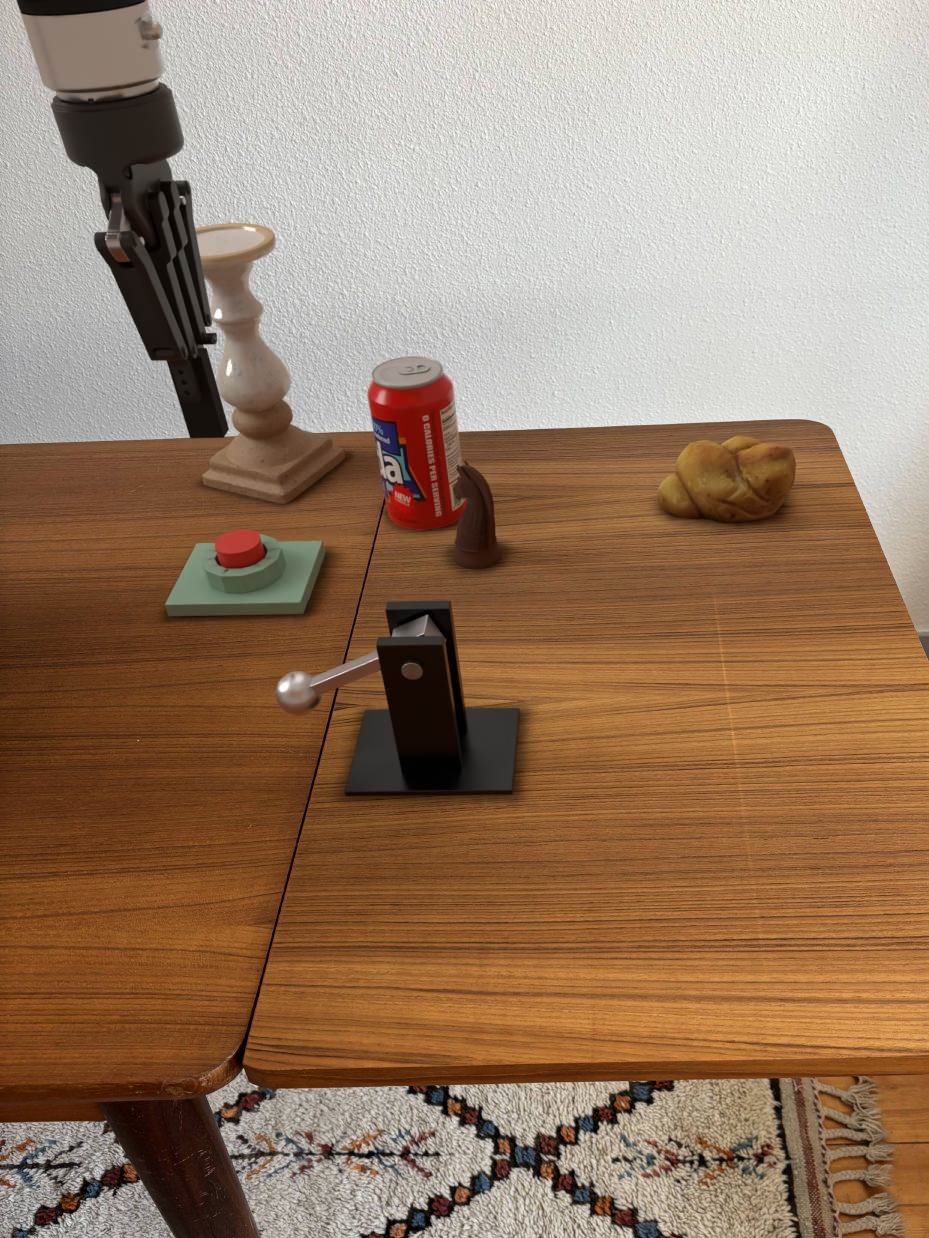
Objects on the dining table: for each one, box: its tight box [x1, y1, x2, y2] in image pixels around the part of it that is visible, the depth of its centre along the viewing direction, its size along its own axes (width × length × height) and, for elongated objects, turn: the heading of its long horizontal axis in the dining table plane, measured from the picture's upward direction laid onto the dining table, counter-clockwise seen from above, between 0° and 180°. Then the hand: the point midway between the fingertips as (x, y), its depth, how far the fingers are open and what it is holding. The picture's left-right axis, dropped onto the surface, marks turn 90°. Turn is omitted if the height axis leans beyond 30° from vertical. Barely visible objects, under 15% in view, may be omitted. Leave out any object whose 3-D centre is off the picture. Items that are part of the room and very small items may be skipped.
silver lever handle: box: [274, 615, 446, 717], centre depth 73 cm, size 13×3×3 cm, turn 88°
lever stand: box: [344, 600, 521, 797], centre depth 74 cm, size 12×9×13 cm
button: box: [214, 528, 265, 569], centre depth 93 cm, size 4×4×2 cm
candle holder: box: [195, 222, 346, 505], centre depth 104 cm, size 11×11×24 cm
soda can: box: [366, 355, 468, 531], centre depth 100 cm, size 8×8×15 cm
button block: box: [164, 533, 326, 617], centre depth 95 cm, size 12×10×4 cm
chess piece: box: [452, 460, 502, 570], centre depth 95 cm, size 5×5×10 cm
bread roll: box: [656, 434, 797, 523], centre depth 101 cm, size 13×10×8 cm
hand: (209, 433), depth 83 cm, fingers closed
